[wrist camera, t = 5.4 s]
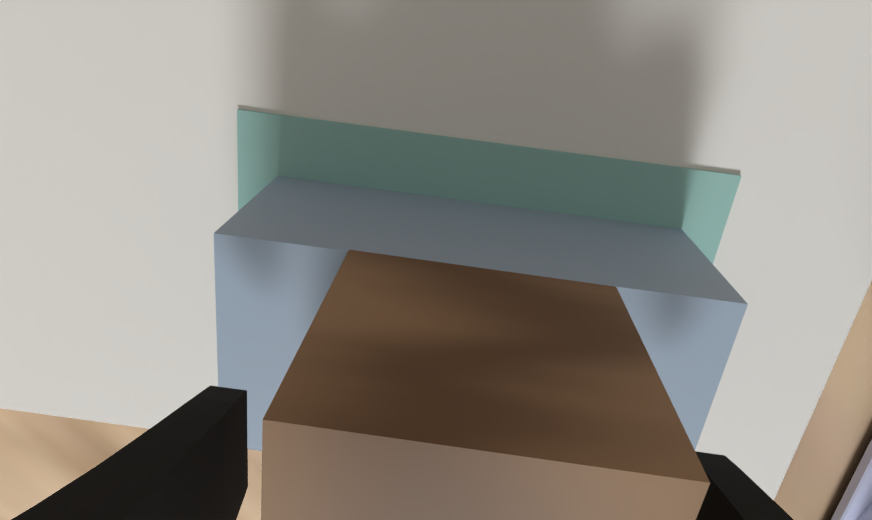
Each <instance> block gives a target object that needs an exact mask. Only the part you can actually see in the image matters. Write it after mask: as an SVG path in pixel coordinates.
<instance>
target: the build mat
mask: <svg viewBox="0 0 872 520" xmlns="http://www.w3.org/2000/svg"><path fill="white" fill-rule="evenodd" d="M277 176H282V177H290V178H297V179H305V180H312V181H320V182H328V183H335V184H343V185H351V186H358V187H366V188H373V189H381V190H389V191H396V192H404V193H411V194H419V195H427V196H434V197H442V198H449V199H457V200H465V201H472V202H480V203H487V204H495V205H503V206H510V207H518V208H526V209H533V210H541V211H548V212H556V213H564V214H571V215H579V216H586V217H594V218H602V219H609V220H617V221H624V222H632V223H640V224H647V225H655V226H662V227H670V228H678V229H682V230H683V231H684V232H685V233H686V234H687V236H688V237H689V238H690V239H691V240H692V241H693V242H694V244H695V245H696V246H697V247H698V248H699V249H700V250H701V251H702V253H703V254H704V255H705V256H706V257H707V258H708V259H709V261H710V262H711V263H712V264H713V265H714V266H715V267H716V268H717V270H718V271H719V272H720V273H721V274H722V275H723V276H724V278H725V279H726V280H727V281H728V282H729V283H730V284H731V285H732V287H733V288H734V289H735V290H736V291H737V292H738V293H739V295H740V296H741V297H742V298H743V299H744V300H745V301H746V302H747V304H748V305H747V308H746V311H745V314H744V316H743V319H742V322H741V325H740V327H739V330H738V333H737V336H736V339H735V341H734V344H733V347H732V350H731V352H730V355H729V358H728V361H727V363H726V366H725V369H724V372H723V374H722V377H721V380H720V383H719V385H718V388H717V391H716V394H715V397H714V399H713V402H712V405H711V408H710V410H709V413H708V416H707V419H706V421H705V424H704V427H703V430H702V432H701V435H700V438H699V441H698V443H697V446H696V449H695V451H696V452H704V453H711V454H718V455H725V456H726V457H727V458H729V459H730V460H731V461H732V462H733V463H734V464H735V465H737V466H738V467H739V468H740V469H741V470H742V471H743V472H744V473H745V474H746V475H747V476H748V477H749V478H751V479H752V480H753V481H754V482H755V483H756V484H757V485H758V486H759V487H760V488H761V489H762V490H763V491H764V492H765V493H766V494H767V495H768V496H769V497H770V498H771V499H773V500H774V498H775V496H776V494H777V492H778V489H779V487H780V485H781V483H782V480H783V478H784V476H785V474H786V471H787V469H788V467H789V465H790V462H791V460H792V458H793V456H794V454H795V451H796V449H797V447H798V445H799V442H800V440H801V438H802V436H803V433H804V431H805V429H806V427H807V424H808V422H809V420H810V418H811V415H812V413H813V411H814V409H815V406H816V404H817V402H818V400H819V398H820V395H821V393H822V391H823V389H824V386H825V384H826V382H827V380H828V377H829V375H830V373H831V371H832V368H833V366H834V364H835V362H836V359H837V357H838V355H839V353H840V351H841V348H842V346H843V344H844V342H845V339H846V337H847V335H848V333H849V330H850V328H851V326H852V324H853V321H854V319H855V317H856V315H857V312H858V310H859V308H860V306H861V303H862V301H863V299H864V297H865V295H866V292H867V290H868V288H869V286H870V283H871V281H872V0H0V408H2V409H9V410H17V411H24V412H31V413H39V414H46V415H53V416H61V417H68V418H75V419H83V420H90V421H97V422H105V423H112V424H119V425H126V426H134V427H141V428H148V429H150V428H152V427H153V426H154V425H156V424H157V423H159V422H160V421H161V420H163V419H164V418H166V417H167V416H168V415H170V414H171V413H172V412H174V411H175V410H177V409H178V408H179V407H181V406H182V405H183V404H185V403H186V402H188V401H189V400H190V399H192V398H193V397H195V396H196V395H197V394H199V393H200V392H202V391H203V390H205V389H206V388H207V387H209V386H210V385H211V386H218V363H217V330H216V297H215V264H214V232H216V231H217V230H218V229H219V228H220V227H221V226H222V225H223V224H225V223H226V222H227V221H228V220H229V219H230V218H231V217H232V216H233V215H235V214H236V213H237V212H238V211H239V210H240V209H241V208H242V207H243V206H245V205H246V204H247V203H248V202H249V201H250V200H251V199H252V198H254V197H255V196H256V195H257V194H258V193H259V192H260V191H261V190H262V189H264V188H265V187H266V186H267V185H268V184H269V183H270V182H271V181H273V180H274V179H275V178H276V177H277Z"/></svg>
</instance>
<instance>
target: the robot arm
mask: <svg viewBox="0 0 872 520" xmlns="http://www.w3.org/2000/svg"><path fill="white" fill-rule="evenodd" d="M695 452H696V451H695ZM696 454H697V456H698V458H699V460H700V462H701V465H702V467H703V469H704V471H705V473H706V475H707V477H708V479H709V481H710V485H709V488H708V490H707V493H706V495H705V498H704V500H703V503H702V505H701V508H700V510H699V513H698V515H697V518H696V520H793V519H792V518H791V517H790V516H789V515H788V514H787V513H786V512H785V511H784V510H783V509H782V508H781V507H780V506H779V505H778V504H777V503H776V502H775V501H774V500H773V499H771V498H770V497H769V496H768V495H767V494H766V493H765V492H764V491H763V490H762V489H761V488H760V487H759V486H758V485H757V484H756V483H755V482H754V481H753V480H752V479H751V478H749V477H748V476H747V475H746V474H745V473H744V472H743V471H742V470H741V469H740V468H739V467H738V466H737V465H735V464H734V463H733V462H732V461H731V460H730V459H729V458H727V457H726V456H725V455H718V454H711V453H704V452H696ZM247 487H248V459H247V390H240V389H233V388H225V387H218V386H211V385H210V386H209V387H207V388H206V389H205V390H203V391H202V392H200V393H199V394H197V395H196V396H195V397H193V398H192V399H190V400H189V401H188V402H186V403H185V404H183V405H182V406H181V407H179V408H178V409H177V410H175V411H174V412H172V413H171V414H170V415H168V416H167V417H166V418H164V419H163V420H161V421H160V422H159V423H157V424H156V425H154V426H153V427H152V428H150V429H149V430H148V431H146V432H145V433H143V434H142V435H141V436H139V437H138V438H136V439H135V440H133V441H132V442H131V443H129V444H128V445H126V446H125V447H123V448H122V449H121V450H119V451H118V452H116V453H115V454H113V455H112V456H111V457H109V458H108V459H106V460H105V461H103V462H102V463H100V464H99V465H98V466H96V467H95V468H93V469H91V470H90V471H88V472H87V473H85V474H84V475H82V476H80V477H79V478H77V479H76V480H74V481H73V482H71V483H70V484H68V485H66V486H65V487H63V488H62V489H60V490H59V491H57V492H55V493H54V494H52V495H51V496H49V497H48V498H46V499H45V500H43V501H41V502H40V503H38V504H37V505H35V506H34V507H32V508H30V509H29V510H27V511H25V512H23V513H22V514H20V515H18V516H17V517H15V518H13V519H12V520H236V518H237V516H238V513H239V510H240V507H241V504H242V501H243V499H244V496H245V493H246V490H247ZM831 520H872V439H871V441H870V443H869V445H868V447H867V449H866V451H865V453H864V455H863V457H862V459H861V461H860V463H859V465H858V467H857V469H856V471H855V473H854V475H853V477H852V479H851V481H850V483H849V485H848V487H847V489H846V491H845V493H844V495H843V497H842V499H841V501H840V503H839V505H838V507H837V509H836V511H835V513H834V515H833V517H832V519H831Z"/></svg>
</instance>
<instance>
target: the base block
mask: <svg viewBox="0 0 872 520" xmlns="http://www.w3.org/2000/svg"><path fill="white" fill-rule="evenodd" d="M349 250H356V251H364V252H371V253H378V254H385V255H392V256H399V257H407V258H414V259H421V260H428V261H435V262H443V263H450V264H457V265H464V266H471V267H478V268H486V269H493V270H500V271H507V272H514V273H522V274H529V275H536V276H543V277H550V278H557V279H565V280H572V281H579V282H586V283H593V284H601V285H608V286H615V287H617V290H618V292H619V294H620V296H621V298H622V300H623V302H624V304H625V306H626V308H627V310H628V312H629V315H630V317H631V319H632V321H633V323H634V325H635V327H636V329H637V331H638V333H639V335H640V337H641V340H642V342H643V344H644V346H645V348H646V350H647V352H648V354H649V356H650V358H651V360H652V362H653V365H654V367H655V369H656V371H657V373H658V375H659V377H660V379H661V381H662V383H663V385H664V387H665V390H666V392H667V394H668V396H669V398H670V400H671V402H672V404H673V406H674V408H675V410H676V412H677V415H678V417H679V419H680V421H681V423H682V425H683V427H684V429H685V431H686V433H687V435H688V437H689V440H690V442H691V444H692V446H693V448H694V450H695V449H696V446H697V443H698V441H699V438H700V435H701V432H702V430H703V427H704V424H705V421H706V419H707V416H708V413H709V410H710V408H711V405H712V402H713V399H714V397H715V394H716V391H717V388H718V385H719V383H720V380H721V377H722V374H723V372H724V369H725V366H726V363H727V361H728V358H729V355H730V352H731V350H732V347H733V344H734V341H735V339H736V336H737V333H738V330H739V327H740V325H741V322H742V319H743V316H744V314H745V311H746V308H747V305H748V304H747V302H746V301H745V300H744V299H743V298H742V297H741V296H740V295H739V293H738V292H737V291H736V290H735V289H734V288H733V287H732V285H731V284H730V283H729V282H728V281H727V280H726V279H725V278H724V276H723V275H722V274H721V273H720V272H719V271H718V270H717V268H716V267H715V266H714V265H713V264H712V263H711V262H710V261H709V259H708V258H707V257H706V256H705V255H704V254H703V253H702V251H701V250H700V249H699V248H698V247H697V246H696V245H695V244H694V242H693V241H692V240H691V239H690V238H689V237H688V236H687V234H686V233H685V232H684V231H683V230H682V229H678V228H670V227H662V226H655V225H647V224H640V223H632V222H624V221H617V220H609V219H602V218H594V217H586V216H579V215H571V214H564V213H556V212H548V211H541V210H533V209H526V208H518V207H510V206H503V205H495V204H487V203H480V202H472V201H465V200H457V199H449V198H442V197H434V196H427V195H419V194H411V193H404V192H396V191H389V190H381V189H373V188H366V187H358V186H351V185H343V184H335V183H328V182H320V181H312V180H305V179H297V178H290V177H282V176H277V177H276V178H275V179H274V180H273V181H271V182H270V183H269V184H268V185H267V186H266V187H265V188H264V189H262V190H261V191H260V192H259V193H258V194H257V195H256V196H255V197H254V198H252V199H251V200H250V201H249V202H248V203H247V204H246V205H245V206H243V207H242V208H241V209H240V210H239V211H238V212H237V213H236V214H235V215H233V216H232V217H231V218H230V219H229V220H228V221H227V222H226V223H225V224H223V225H222V226H221V227H220V228H219V229H218V230H217V231H216V232H214V264H215V297H216V330H217V363H218V387H225V388H233V389H240V390H247V449H253V450H260V451H262V425H263V418H264V416H265V414H266V412H267V410H268V408H269V406H270V404H271V402H272V400H273V398H274V396H275V394H276V392H277V390H278V388H279V386H280V384H281V382H282V380H283V378H284V376H285V375H286V373H287V371H288V369H289V367H290V365H291V363H292V361H293V359H294V357H295V355H296V353H297V351H298V349H299V347H300V345H301V343H302V341H303V339H304V337H305V335H306V333H307V331H308V329H309V327H310V325H311V323H312V321H313V319H314V317H315V315H316V314H317V312H318V310H319V308H320V306H321V304H322V302H323V300H324V298H325V296H326V294H327V292H328V290H329V288H330V286H331V284H332V282H333V280H334V278H335V276H336V274H337V272H338V270H339V268H340V266H341V264H342V262H343V260H344V258H345V256H346V255H347V253H348V251H349Z"/></svg>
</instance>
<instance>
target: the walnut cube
mask: <svg viewBox="0 0 872 520" xmlns="http://www.w3.org/2000/svg"><path fill="white" fill-rule="evenodd" d="M709 485H710V481H709V479H708V477H707V475H706V473H705V471H704V469H703V467H702V465H701V462H700V460H699V458H698V456H697V454H696V452H695V450H694V448H693V446H692V444H691V442H690V440H689V437H688V435H687V433H686V431H685V429H684V427H683V425H682V423H681V421H680V419H679V417H678V415H677V412H676V410H675V408H674V406H673V404H672V402H671V400H670V398H669V396H668V394H667V392H666V390H665V387H664V385H663V383H662V381H661V379H660V377H659V375H658V373H657V371H656V369H655V367H654V365H653V362H652V360H651V358H650V356H649V354H648V352H647V350H646V348H645V346H644V344H643V342H642V340H641V337H640V335H639V333H638V331H637V329H636V327H635V325H634V323H633V321H632V319H631V317H630V315H629V312H628V310H627V308H626V306H625V304H624V302H623V300H622V298H621V296H620V294H619V292H618V290H617V287H615V286H608V285H601V284H593V283H586V282H579V281H572V280H565V279H557V278H550V277H543V276H536V275H529V274H522V273H514V272H507V271H500V270H493V269H486V268H478V267H471V266H464V265H457V264H450V263H443V262H435V261H428V260H421V259H414V258H407V257H399V256H392V255H385V254H378V253H371V252H364V251H356V250H349V251H348V253H347V255H346V256H345V258H344V260H343V262H342V264H341V266H340V268H339V270H338V272H337V274H336V276H335V278H334V280H333V282H332V284H331V286H330V288H329V290H328V292H327V294H326V296H325V298H324V300H323V302H322V304H321V306H320V308H319V310H318V312H317V314H316V315H315V317H314V319H313V321H312V323H311V325H310V327H309V329H308V331H307V333H306V335H305V337H304V339H303V341H302V343H301V345H300V347H299V349H298V351H297V353H296V355H295V357H294V359H293V361H292V363H291V365H290V367H289V369H288V371H287V373H286V375H285V376H284V378H283V380H282V382H281V384H280V386H279V388H278V390H277V392H276V394H275V396H274V398H273V400H272V402H271V404H270V406H269V408H268V410H267V412H266V414H265V416H264V418H263V425H262V500H261V520H696V518H697V515H698V513H699V510H700V508H701V505H702V503H703V500H704V498H705V495H706V493H707V490H708V488H709Z"/></svg>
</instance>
